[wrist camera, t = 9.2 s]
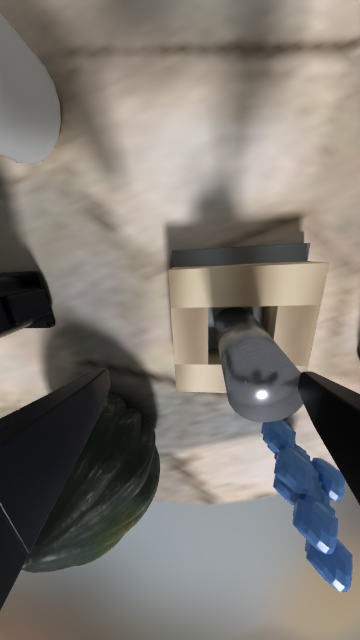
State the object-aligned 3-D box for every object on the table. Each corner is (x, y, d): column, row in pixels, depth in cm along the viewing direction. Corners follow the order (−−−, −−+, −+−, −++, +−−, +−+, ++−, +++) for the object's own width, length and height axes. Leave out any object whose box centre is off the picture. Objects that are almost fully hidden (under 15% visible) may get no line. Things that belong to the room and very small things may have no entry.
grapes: (320, 454, 25) (419, 619, 14) (269, 464, 27) (320, 618, 15) (299, 387, 22) (403, 528, 11) (243, 402, 23) (282, 539, 12)
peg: (214, 342, 20) (226, 420, 11) (214, 306, 19) (228, 359, 9) (252, 342, 20) (300, 424, 10) (256, 305, 18) (314, 360, 9)
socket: (181, 378, 23) (177, 403, 19) (173, 251, 18) (166, 250, 15) (282, 381, 22) (299, 407, 18) (304, 243, 17) (333, 240, 13)
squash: (109, 521, 26) (96, 692, 12) (16, 463, 25) (-118, 580, 11) (166, 422, 31) (202, 462, 18) (92, 371, 30) (67, 370, 16)
